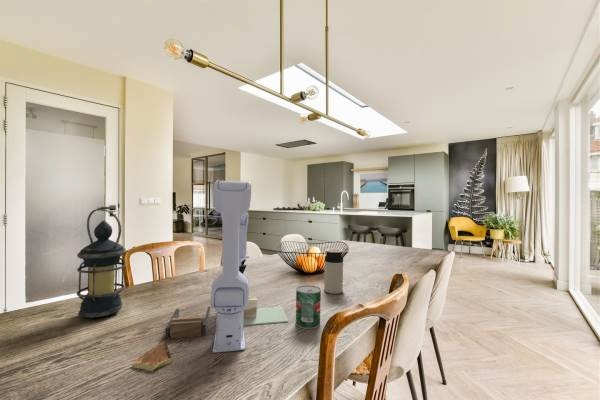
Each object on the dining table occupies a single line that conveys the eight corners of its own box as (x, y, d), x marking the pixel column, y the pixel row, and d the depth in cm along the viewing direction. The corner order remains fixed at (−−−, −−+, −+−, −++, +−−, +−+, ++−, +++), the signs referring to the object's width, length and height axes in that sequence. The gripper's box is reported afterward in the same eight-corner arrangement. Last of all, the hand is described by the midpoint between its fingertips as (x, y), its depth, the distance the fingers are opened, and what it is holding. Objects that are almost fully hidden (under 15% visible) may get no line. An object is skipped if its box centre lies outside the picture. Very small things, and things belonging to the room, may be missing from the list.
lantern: (135, 309, 96) (137, 208, 96) (98, 325, 83) (101, 209, 83) (103, 304, 99) (106, 207, 100) (63, 319, 87) (66, 208, 87)
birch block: (256, 317, 90) (256, 299, 90) (231, 319, 88) (231, 301, 88) (255, 313, 93) (255, 295, 94) (231, 314, 92) (231, 296, 92)
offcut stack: (201, 335, 78) (202, 320, 78) (169, 338, 76) (170, 322, 76) (203, 328, 82) (203, 313, 82) (173, 331, 80) (173, 315, 80)
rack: (205, 335, 78) (205, 325, 78) (165, 339, 76) (165, 328, 76) (210, 315, 92) (210, 306, 92) (176, 317, 89) (176, 308, 89)
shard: (165, 345, 73) (165, 338, 73) (189, 350, 71) (189, 343, 71) (130, 369, 63) (130, 361, 63) (158, 375, 61) (158, 367, 61)
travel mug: (345, 293, 118) (346, 251, 118) (329, 295, 115) (330, 252, 115) (336, 287, 125) (337, 248, 125) (321, 289, 122) (321, 248, 122)
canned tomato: (292, 320, 90) (292, 286, 90) (314, 316, 92) (314, 284, 92) (300, 330, 82) (301, 294, 82) (324, 327, 85) (325, 291, 85)
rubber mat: (288, 322, 88) (288, 320, 88) (223, 327, 83) (223, 325, 83) (282, 307, 100) (282, 306, 100) (225, 311, 95) (225, 310, 95)
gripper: (250, 246, 93) (249, 287, 93) (248, 240, 107) (248, 275, 107) (229, 247, 91) (228, 288, 91) (230, 241, 106) (229, 276, 105)
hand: (237, 281), depth 99 cm, fingers open, 7 cm apart
